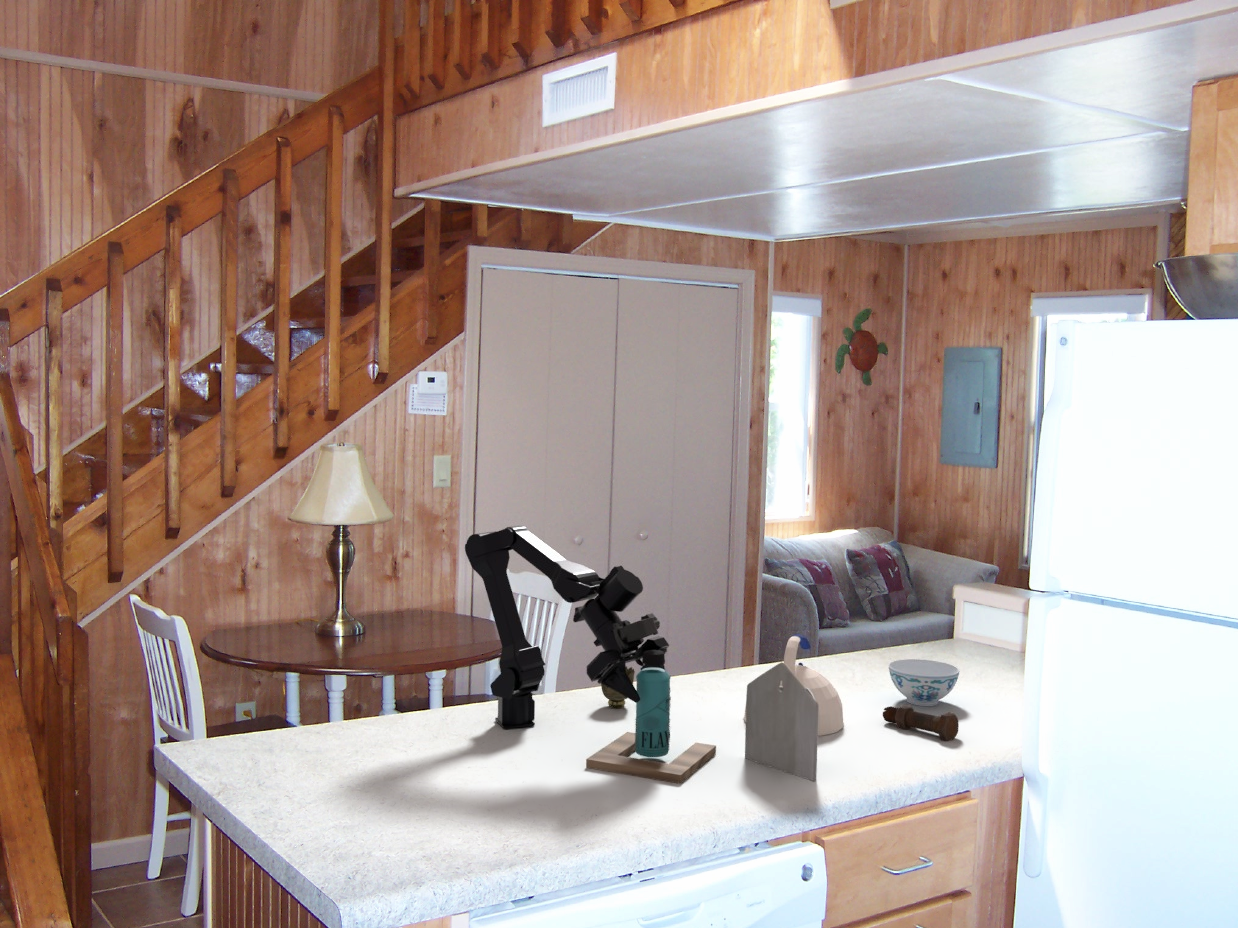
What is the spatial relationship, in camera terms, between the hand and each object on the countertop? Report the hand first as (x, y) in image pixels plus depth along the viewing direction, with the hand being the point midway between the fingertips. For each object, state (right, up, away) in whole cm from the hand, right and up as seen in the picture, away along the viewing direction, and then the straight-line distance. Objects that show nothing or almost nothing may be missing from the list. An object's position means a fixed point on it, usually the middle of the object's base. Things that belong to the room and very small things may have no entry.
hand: (653, 695), depth 205 cm
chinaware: (+60, -10, +43) cm, 75 cm away
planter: (+25, -13, 0) cm, 28 cm away
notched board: (0, -12, +1) cm, 12 cm away
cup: (-7, -10, +35) cm, 37 cm away
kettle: (+29, -11, +26) cm, 41 cm away
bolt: (+54, -12, +22) cm, 59 cm away
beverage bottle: (0, -12, +1) cm, 12 cm away
